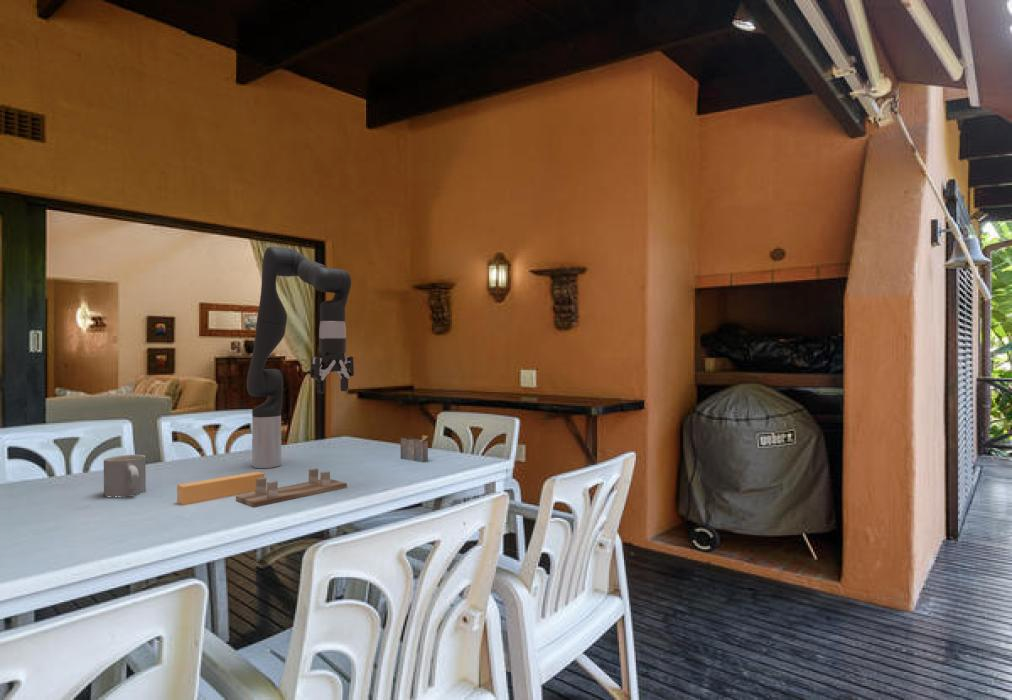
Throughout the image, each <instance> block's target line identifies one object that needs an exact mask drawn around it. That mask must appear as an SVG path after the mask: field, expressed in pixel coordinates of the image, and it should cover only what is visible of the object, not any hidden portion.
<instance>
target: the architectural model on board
mask: <svg viewBox="0 0 1012 700" xmlns="http://www.w3.org/2000/svg"><path fill="white" fill-rule="evenodd" d="M427 438H428V435H425V434H423V435H421V439H416V438H415V439H414V438H409V439H407V438H406V437H404V438H400V459H401V460H406V461H412V462H417V463H427V462H429V446H428V445H429V440H427Z"/></svg>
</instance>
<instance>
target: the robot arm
mask: <svg viewBox="0 0 1012 700" xmlns="http://www.w3.org/2000/svg"><path fill="white" fill-rule="evenodd" d="M261 264H262V268H261V287H260V299H259V304H258V305H259V306H258V310H257V311H258V312H257V315H256V316H257V317H256V324H255V334H254V335H255V336H254V342H253V350H252V355H251V359H250V363H249V368H248V372H247V378H246V390H247V393H248V395H249V396H251V397H255V398H257V397H266V400H265V401H264V402H262V403H261V404H259V405H256V406H254V407H253V408H252V409H251V410H252V411H251V416H252V417H251V419H252V422H251V423H252V425H251V426H252V429H251V430H252V433H251V434H252V436H251V437H252V438H251V450H252V451H251V457H252V458H251V465H252V468H255V469H270V468H271V469H273V468H278V467H280V466H282V408H283V397H284V396H283V395H284V394H283V392H284V378H283V374H282V372H281V370H280V369H278V368H265V367H266V366H265V365H266V363H267V360H268V358H270V357H269V356H270V355H271V354H272V352H274V350H275V349H276V348H277V346H279V344H280V343H281V341H282V340H283V339H284V337H285V334H286V327H287V323H288V314H287V311H286V308H285V306H284V303H282V300H281V299H280V296H279V293H278V291H277V277H287V278H288V277H299V279H300V280H301V281H303V282H304V283H306V284H308V285H310V286H312V287H313V288H314V289H315V290H316V291H318V292H322V293H329V294H331V293H334V295H333V297H332V299H331V300H330V299H329V300H325V301H322V302H321V303H320V307H319V308H320V310H319V313H320V314H319V316H320V317H319V319H320V320H319V332H318V333H319V334H318V335H319V336H318V337H319V338H318V340H319V341H318V342H319V348H318V349H319V350H318V352H319V353H320V357H316V356H314V357H311V359H310V370H309V371H310V372H309V373H310V374H309V377H310V379H313V380H316V392H317V393H318V394H321V395H322V394H326V393H325V392H326V389H325V388H326V386H325V385H326V383H325V382H326V381H325V379H326V377H327V375H329V374H330V372H336V373H337V374H338V375H339V377H340V391H341V392H348V389H349V379H350V377H354V375H355V370H354V369H355V368H354V367H355V366H354V357H353V356H352V355H349V356H348V355H346V356H345V353H346V352H347V328H346V307H347V301H348V298H349V295H350V291H351V286H352V277H351V275H350V273H349V272H348V271H347V270H345V269H341V268H340V269H339V268H330V267H327V265H324V264H322V263H320V262H317V261H314V260H311V259H308V258H307V257H306V256H304V255H303V254H302V253H301V252H299V251H298V250H295V249H293V248H287V247H281V246H280V247H279V246H267V247H266V249H265V250H264V253H263V257H262V263H261Z"/></svg>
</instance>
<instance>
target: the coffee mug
mask: <svg viewBox="0 0 1012 700" xmlns="http://www.w3.org/2000/svg"><path fill="white" fill-rule="evenodd" d="M146 469H147V468H146V455H144V454H123V455H115V456H111V457H106V458H104V459H103V496H104V495H105V496H111V497H115V496H117V497H118V496H129V495H135V494H139V495H141V494H140V493H142V494H144V493H146V491H147V489H146V487H147V486H146V483H147V480H146V477H147V473H146V472H147V471H146ZM143 492H144V493H143ZM105 496H104V497H105ZM135 496H136V495H135ZM129 497H130V496H129Z"/></svg>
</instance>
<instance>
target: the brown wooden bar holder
mask: <svg viewBox="0 0 1012 700" xmlns="http://www.w3.org/2000/svg"><path fill="white" fill-rule="evenodd" d="M319 474H320V475H319ZM319 478H320V479H319ZM278 485H279V482H278V481H277V480H273V481H268V482H267V478H266V477H264V478H258V479H256V491H255V492H250V493H245V494H240V495H235V501H236V502H239V503H242V504H243V505H247V506H250V507H252V508H257V507H261V506H265V505H271V504H276V503H280V502H285V501H286V502H287V501H289V500H295V499H300V498H305V497H307V496H313V495H318V494H323V493H327V492H332V491H336V490H341V489H346V487H347V488H348V483H347V482H343V481H339V480H336V479H332V478H331V471H328V470H326V471H322V472H320V473H319V468H311V469H308V481H307V482H301V483H297V484H291V485H287V486H281V487H279V486H278Z"/></svg>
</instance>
